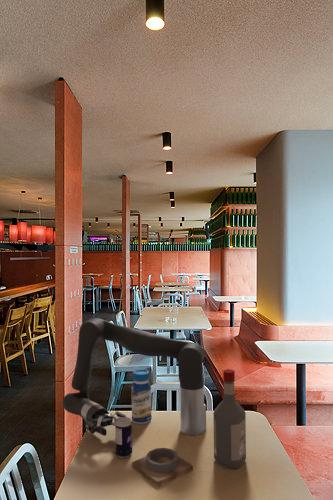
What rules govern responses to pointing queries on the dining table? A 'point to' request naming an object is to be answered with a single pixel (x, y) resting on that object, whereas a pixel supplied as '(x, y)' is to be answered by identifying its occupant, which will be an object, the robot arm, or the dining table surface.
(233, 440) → the liquor
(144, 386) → the beverage bottle
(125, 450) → the beverage can
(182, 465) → the base plate
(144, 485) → the dining table surface
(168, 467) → the collar
